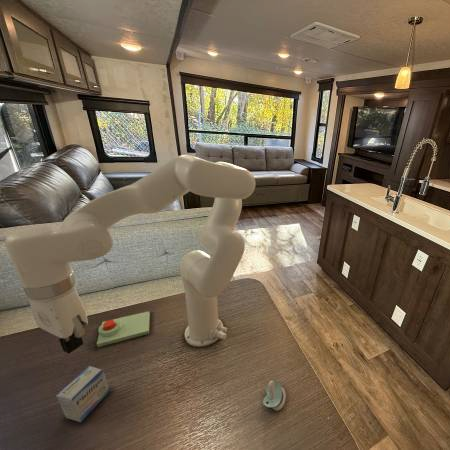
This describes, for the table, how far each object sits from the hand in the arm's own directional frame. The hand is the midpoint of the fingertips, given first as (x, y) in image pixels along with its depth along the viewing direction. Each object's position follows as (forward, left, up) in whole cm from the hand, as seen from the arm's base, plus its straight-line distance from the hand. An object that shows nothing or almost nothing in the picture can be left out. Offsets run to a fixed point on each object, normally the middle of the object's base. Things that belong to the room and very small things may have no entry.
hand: (73, 347), depth 58 cm
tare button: (+14, -16, -14) cm, 26 cm away
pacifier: (-46, -16, -17) cm, 52 cm away
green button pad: (+11, -19, -17) cm, 28 cm away
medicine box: (-2, +2, -17) cm, 18 cm away
